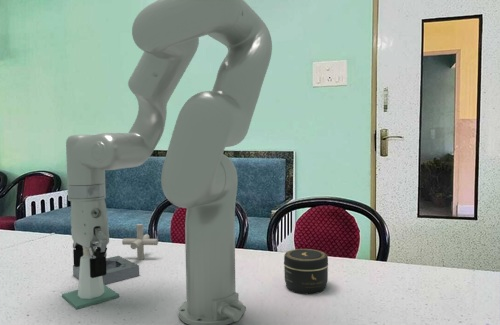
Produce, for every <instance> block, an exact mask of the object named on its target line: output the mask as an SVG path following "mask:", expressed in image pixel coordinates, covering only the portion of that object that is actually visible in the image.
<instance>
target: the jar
mask: <svg viewBox="0 0 500 325" xmlns="http://www.w3.org/2000/svg"><path fill="white" fill-rule="evenodd" d="M283 265H284V266H283V268H284V270H283V271H284V282H285V286H286V287H287V289H288V290H289V291H291V292H294V293H297V294H303V295H314V294H320V293H322V292H323V291H325V290H326V288H327V284H328V275H329V273H328V272H329V268H328V266H329V258H328V255H327V253H326V252H324V251H322V250H319V249H312V248H296V249H291V250H289V251H286V252H285V253H284V256H283Z"/></svg>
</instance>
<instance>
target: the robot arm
mask: <svg viewBox="0 0 500 325" xmlns="http://www.w3.org/2000/svg"><path fill="white" fill-rule="evenodd" d="M131 36H132V39H133V41H134V44H135V46H137V47H138V49H140V50H141V51H143V53H142V55H141V57H140V59H139V60H138V62H137V65H136V66H135V68H134V69H133V72H132V74H130V75H131V76H130V77H129V79H128V81H127V86H128V89H129V90H130V91H131V93H132V94H133V95H134V96H135V97H136V100H137V104H138V111H137V116H136V118H135V120H134V122H133V124H132V126H131V128H130V129H129V131H128V132H127V133H126V132H125V133H124V132H105V133H104V132H103V133H97V134H73V135H69V136H68V137H67V139H66V141H65V151H66V153H65V154H66V176H67V177H66V180H67V181H66V182H67V183H66V184H67V201H69V202H71V207H70V231H71V239H72V241H73V242H72V250H73V252H72V255H73V265H74V266H75V267H79V266H80V259H81V257H82V256H83V254H84V253H83V247H82V246H84V247H86V248H89V251H90V254H91V257H92V258H91V259H90V277H91V278H95V277H99V276H103V275H106V273H107V272H106V258H107V256H108V255H107V254H108V253H107V250H108V247H107V246H108V244H109V243H110V233H109V232H110V231H109V219H108V211H107V203H106V199H107V198H106V197H107V194H106V171H115V170H122V169H128V168H137V167H140V166H141V165H143V164H144V163H146V162H147V160H148V159H149V158H150V157H151V156H152V154H153V152H154V151H155V149H156V148H157V145H158V144H159V142H160V140H161V139H162V137H163V134H164V130H165V126H166V122H167V121H166V120H167V109H168V108H167V106H168V102H169V100H170V99H171V97H172V95H173V93H174V91H175V89H176V88H177V87H178V85H179V82H180V81H181V79H182V77H183V76H184V74H185V72H186V71H187V68H188V67H189V65H190V64H191V62H192V60H193V59H194V57H195V55H196V53H197V50H198V47H199V44H200V42H199V41H200V40H199V38H201V37H204V36H208V37H211V38H212V39H213V40H215V41H217V42H218V43H221V44H222V45H224V46H225V47H226V48H227V54H226V56H225V57H224V58H223V60H222V62H221V63H220V66H219V68H218V70H217V73H216V74H217V75H216V78H215V81H214V85H213V87H212V90H211V91H210V90H207V91H206V90H205V91H200V92H198V93H195V94H194V95H192V96H190V98H188V100H186V102H184V104H183V106H182V107H181V109H180V111H179V113H178V115H177V118H176V121H175V124H174V128H173V131H172V133H171V138H170V140H169V141H170V142H169V144H168V147H167V151H166V155H165V157H164V161H163V165H162V169H161V176H160V177H161V178H160V183H161V188H162V192H163V194H164V196H165V197H166V199H167V200H168V202H170V204H172V205H174V206H176V207H178V208H182V209H186V214H185V221H184V223H185V226H184V232H185V234H184V235H185V237H184V238H185V240H184V242H185V243H184V244H185V248H184V249H185V250H184V251H185V282H186V284H185V287H186V301H185V302H183V303H182V304H181V305H180V306H179V307H178V317H179V319H180V320H181V321H182V322H183V323H185V324H187V325H230V324H232V323H234V322H239V321H240V320H241V318H242V316H243V315H244V314H245V313H246V312H247V307H246V305H244V304H243V302H241V300H239V293H238V292H236V242H235V241H236V227H235V226H236V222H235V221H236V219H235V217H236V200H237V193H238V184H239V183H238V181H239V180H238V171H237V169H236V166H235V163H234V162H233V161H232V160H231V158H229V157H228V156H227V155H226V154H224V152H225V149H226V148H229V147H234V146H237V145H239V144H240V143H241V142H242V141H244V139H245V138H246V137H247V134H248V133H249V129H250V126H251V122H252V120H253V116H254V112H255V110H256V107H257V104H258V101H259V97H260V94H261V90H262V88H263V87H262V86H263V84H264V80H265V78H266V74H267V72H268V69H269V65H270V62H271V59H272V54H273V41H272V37H271V33H270V30H269V28H268V26H267V25H266V23H265V21H264V20H263V19H262V18H261V17H260V16H259V14H258V13H257V12H256V11H255V10H254V9H253V8H252V7H251V6H250V5H249V4H248V3H247V2H246V1H245V0H155V1H154V2H152V3H150V4H148V5H147V6H145V7H144V8H143V9H142V10H140V12H138V14H137V15H136V17H135V18H134V20H133V23H132V28H131ZM91 243H93V244H91ZM94 248H96V251H94Z"/></svg>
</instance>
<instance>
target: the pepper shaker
mask: <svg viewBox="0 0 500 325" xmlns="http://www.w3.org/2000/svg"><path fill="white" fill-rule="evenodd" d="M91 244H93V243H91ZM82 247H83V253H84V254H83V256H82V257H81V259H80V271H79V279H78V288H77V290H78V296H79V297H80V298H81V299H92V298H96V297H100V296H101V295H102V294H103V293H104V285H103V278H102V276H99V277H95V278H91V277H90V259H91V258H92V257H91V254H90V251H89V248H86V247H84V246H82ZM94 251H96V248H94Z"/></svg>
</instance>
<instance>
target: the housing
mask: <svg viewBox="0 0 500 325" xmlns="http://www.w3.org/2000/svg"><path fill="white" fill-rule="evenodd" d="M79 271H80V266H79V267H75V266H74V264H73V265H72V276H73V277H74V278H76V279H77V280H79ZM106 272H107V273H106V275H103V276H102V278H103V284H104V285H106V286H107V285H110V284H113V283H117V282H120V281H121V282H122V281H125V280H129V279H132V278H136V277H139V276H140V265H139V264H137V263H135V262H133V261H131V260H128V259H126V258H124V257H123V256H120V255H116V256H115V255H114V256H111V257H106Z"/></svg>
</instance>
